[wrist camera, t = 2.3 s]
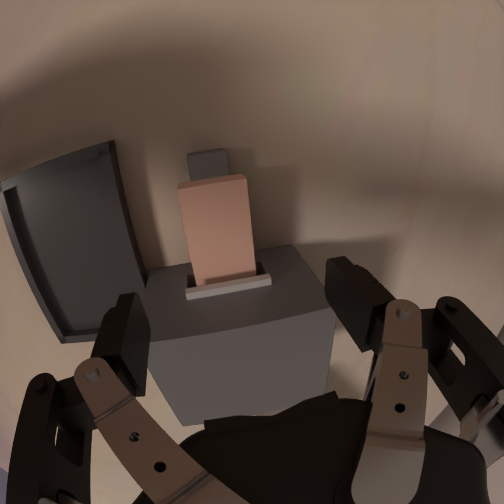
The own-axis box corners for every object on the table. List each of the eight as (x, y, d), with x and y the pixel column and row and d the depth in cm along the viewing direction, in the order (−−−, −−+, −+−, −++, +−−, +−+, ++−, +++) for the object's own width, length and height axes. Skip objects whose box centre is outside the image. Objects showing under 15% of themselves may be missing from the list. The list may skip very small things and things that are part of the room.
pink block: (178, 183, 21) (176, 189, 19) (241, 173, 21) (246, 178, 20) (208, 323, 27) (209, 336, 25) (257, 313, 28) (261, 326, 26)
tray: (4, 179, 18) (-6, 184, 16) (114, 139, 20) (107, 141, 18) (65, 333, 27) (61, 343, 25) (162, 321, 28) (161, 333, 27)
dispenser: (124, 166, 21) (81, 198, 12) (287, 141, 23) (344, 157, 14) (179, 354, 31) (182, 426, 22) (293, 333, 33) (323, 397, 24)
